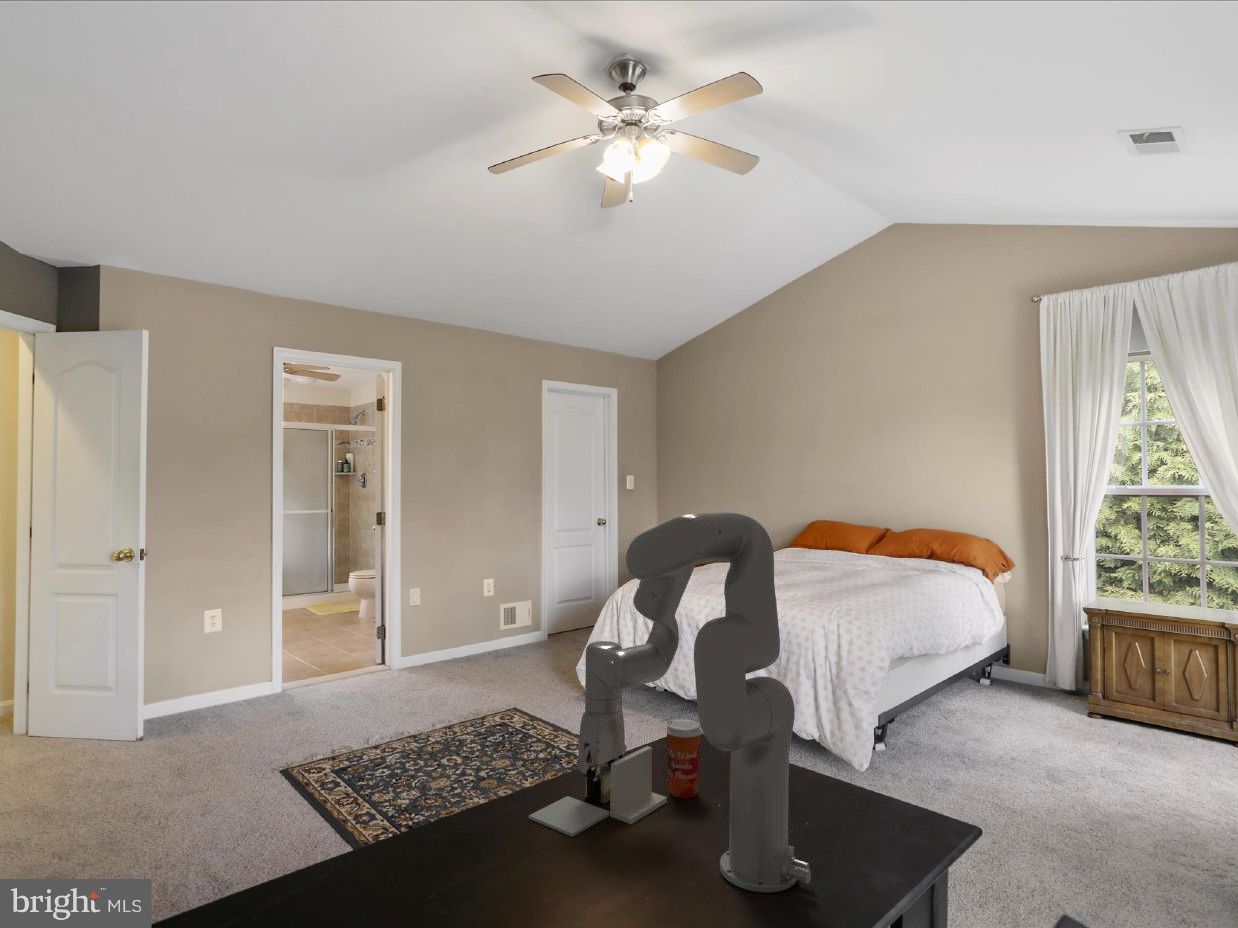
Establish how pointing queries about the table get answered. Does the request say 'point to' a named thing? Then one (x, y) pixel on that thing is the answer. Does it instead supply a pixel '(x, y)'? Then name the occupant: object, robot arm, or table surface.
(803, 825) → the table surface
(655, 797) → the screen
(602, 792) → the maple cube
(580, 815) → the felt mat
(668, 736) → the paper cup
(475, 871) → the table surface
